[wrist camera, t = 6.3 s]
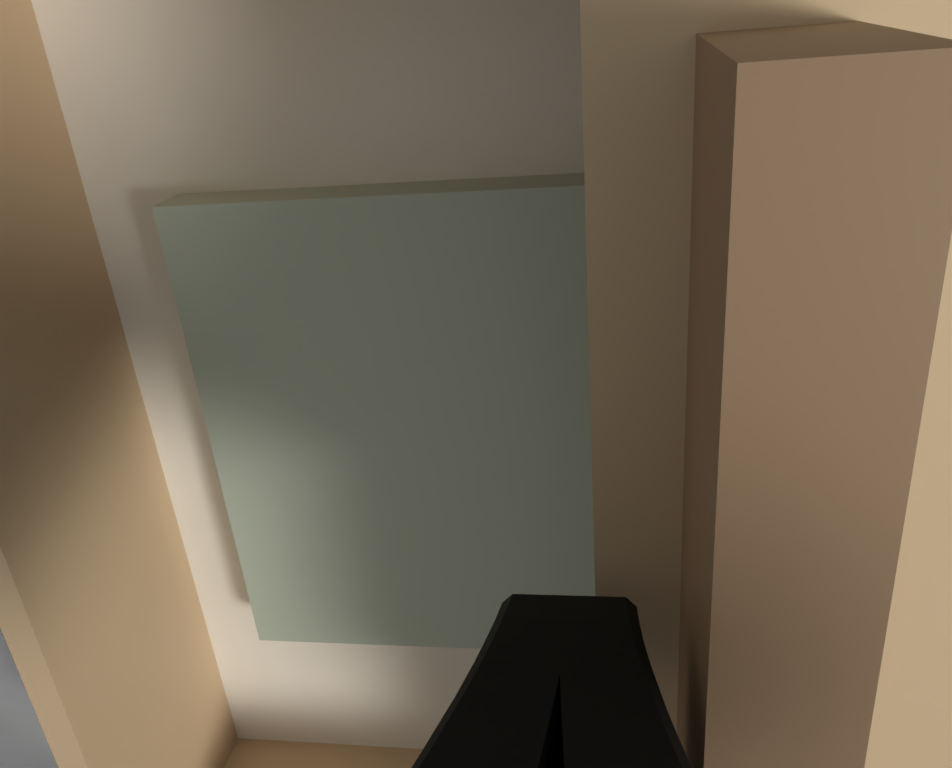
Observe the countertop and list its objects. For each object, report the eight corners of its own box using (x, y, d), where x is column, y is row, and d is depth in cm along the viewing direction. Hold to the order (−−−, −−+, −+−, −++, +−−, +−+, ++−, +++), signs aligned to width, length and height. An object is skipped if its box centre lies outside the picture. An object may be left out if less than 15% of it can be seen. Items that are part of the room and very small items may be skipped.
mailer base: (1135, 783, 16) (1313, 1058, 12) (232, 731, 19) (129, 938, 15) (1517, -269, 9) (2250, -464, 5) (-3, -94, 12) (-311, -125, 8)
